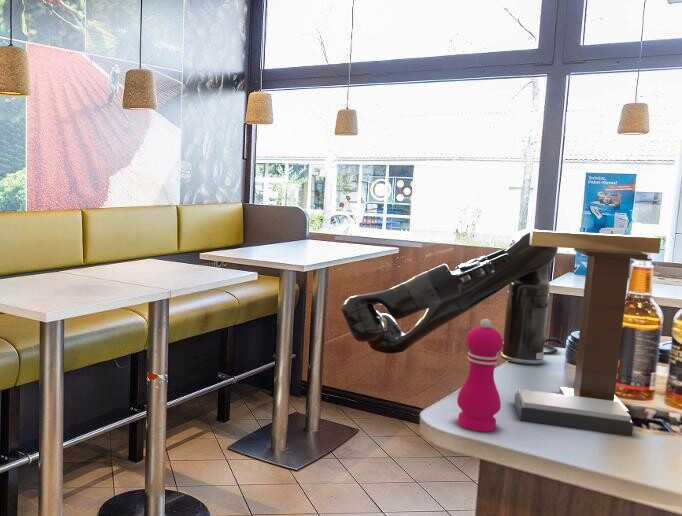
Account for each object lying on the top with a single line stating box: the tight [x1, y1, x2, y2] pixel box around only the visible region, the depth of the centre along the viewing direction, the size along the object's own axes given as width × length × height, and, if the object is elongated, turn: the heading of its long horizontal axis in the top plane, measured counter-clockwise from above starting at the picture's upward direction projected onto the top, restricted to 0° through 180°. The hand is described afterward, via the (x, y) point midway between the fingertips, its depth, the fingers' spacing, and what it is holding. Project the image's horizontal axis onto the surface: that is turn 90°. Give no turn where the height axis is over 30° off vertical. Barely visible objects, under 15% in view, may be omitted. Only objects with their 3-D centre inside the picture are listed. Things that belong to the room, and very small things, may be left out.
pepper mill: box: [456, 318, 503, 433], centre depth 127 cm, size 7×7×20 cm
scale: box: [513, 388, 634, 437], centre depth 133 cm, size 10×18×4 cm, turn 69°
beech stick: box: [529, 229, 662, 254], centre depth 139 cm, size 3×22×3 cm, turn 69°
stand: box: [558, 248, 649, 415], centre depth 140 cm, size 12×10×32 cm
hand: (508, 255), depth 145 cm, fingers open, 8 cm apart
